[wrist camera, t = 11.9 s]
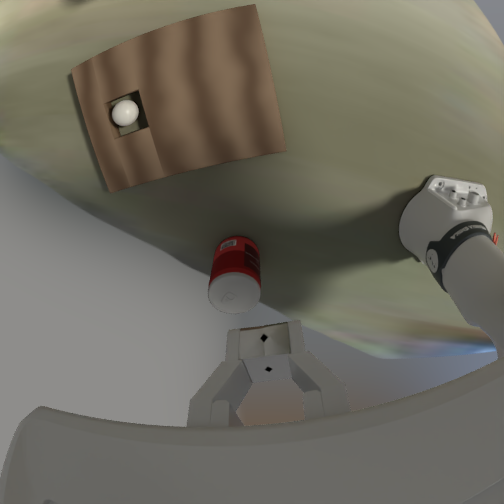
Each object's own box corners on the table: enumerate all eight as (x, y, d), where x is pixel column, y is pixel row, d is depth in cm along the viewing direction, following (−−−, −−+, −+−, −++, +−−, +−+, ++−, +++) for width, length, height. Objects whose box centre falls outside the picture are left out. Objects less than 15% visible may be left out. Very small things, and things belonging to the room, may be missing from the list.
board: (255, 8, 28) (255, 4, 26) (284, 147, 40) (286, 151, 38) (79, 68, 31) (71, 69, 29) (116, 187, 43) (110, 193, 41)
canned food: (208, 261, 52) (199, 304, 42) (226, 227, 48) (221, 266, 39) (246, 277, 54) (245, 320, 44) (267, 245, 50) (270, 287, 40)
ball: (138, 93, 33) (114, 102, 31) (146, 118, 36) (121, 128, 33) (128, 99, 36) (105, 107, 34) (135, 122, 38) (112, 131, 36)
